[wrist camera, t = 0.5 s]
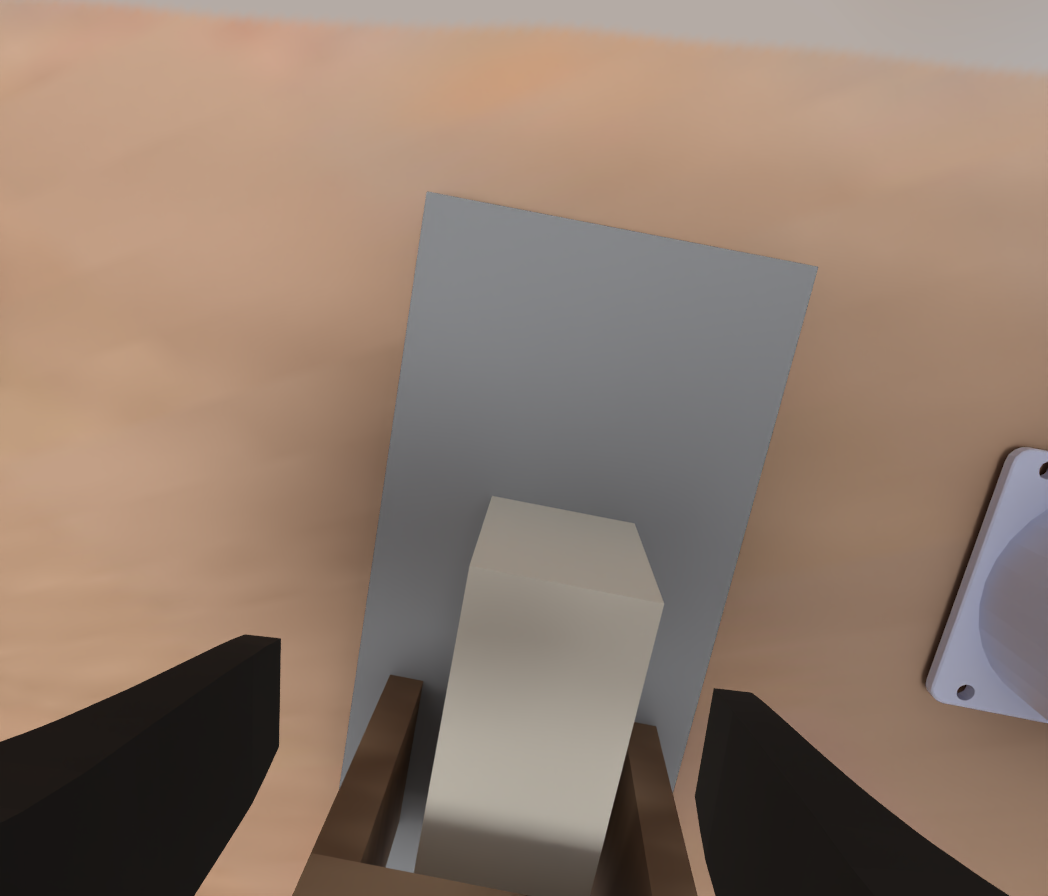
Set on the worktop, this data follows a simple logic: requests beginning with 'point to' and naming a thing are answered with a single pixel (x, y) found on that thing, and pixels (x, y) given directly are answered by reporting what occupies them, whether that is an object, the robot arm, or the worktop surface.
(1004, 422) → the worktop surface
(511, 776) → the cream block
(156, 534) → the worktop surface
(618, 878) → the walnut tunnel
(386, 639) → the grey deck
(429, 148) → the worktop surface
